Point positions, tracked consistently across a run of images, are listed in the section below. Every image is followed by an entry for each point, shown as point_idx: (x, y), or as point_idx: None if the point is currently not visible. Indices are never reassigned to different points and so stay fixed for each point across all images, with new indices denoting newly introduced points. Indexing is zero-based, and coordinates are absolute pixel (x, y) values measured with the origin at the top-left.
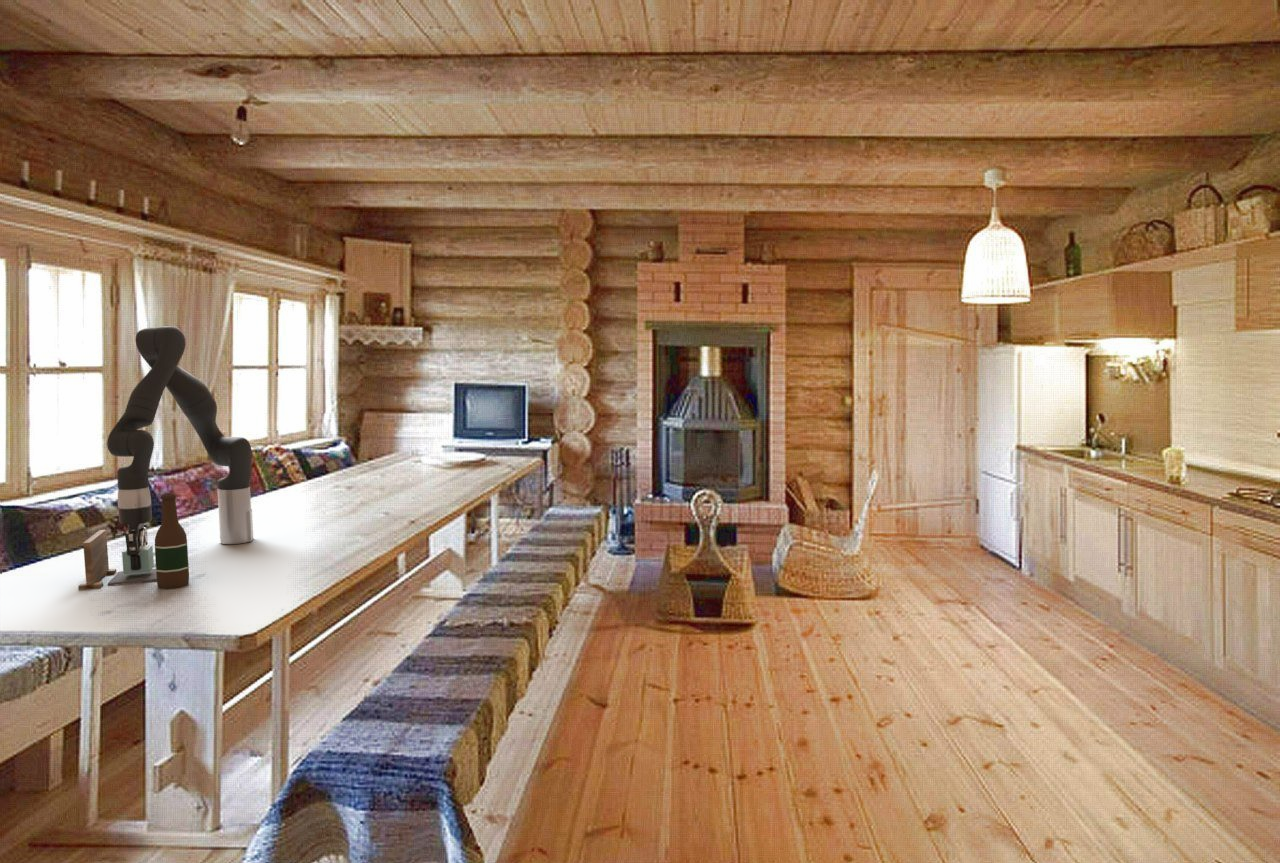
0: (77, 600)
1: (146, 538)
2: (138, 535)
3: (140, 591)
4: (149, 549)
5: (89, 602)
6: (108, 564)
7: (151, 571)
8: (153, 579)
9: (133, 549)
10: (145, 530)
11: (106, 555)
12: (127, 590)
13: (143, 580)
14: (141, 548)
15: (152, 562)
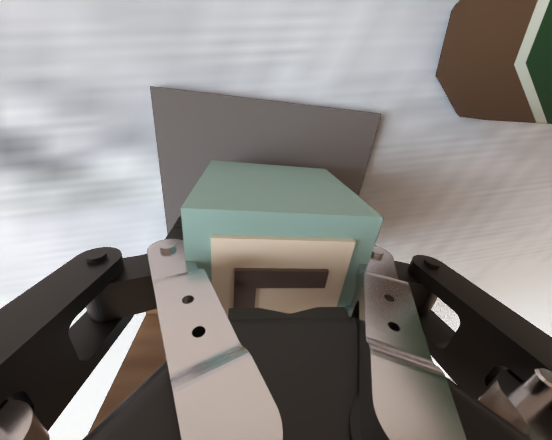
0: (447, 308)
1: (176, 295)
2: (479, 402)
3: (485, 173)
4: (322, 210)
5: (490, 282)
6: (138, 330)
7: None
8: (372, 143)
9: (335, 305)
10: (270, 425)
11: (144, 372)
12: (437, 215)
13: (361, 181)
14: (330, 266)
15: (239, 169)
